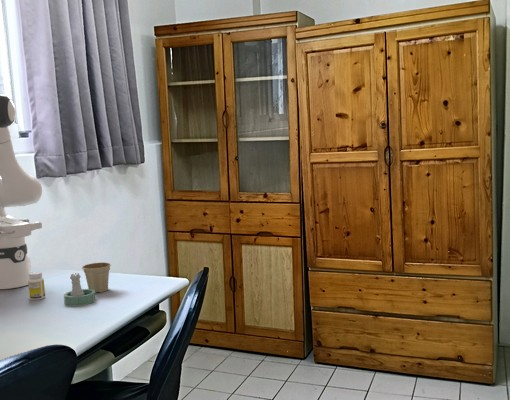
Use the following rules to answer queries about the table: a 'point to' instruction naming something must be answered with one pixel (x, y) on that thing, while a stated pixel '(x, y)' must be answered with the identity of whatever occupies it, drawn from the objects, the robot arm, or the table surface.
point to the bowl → (80, 298)
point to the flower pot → (97, 276)
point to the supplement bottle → (36, 286)
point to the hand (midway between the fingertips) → (34, 223)
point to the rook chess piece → (76, 285)
